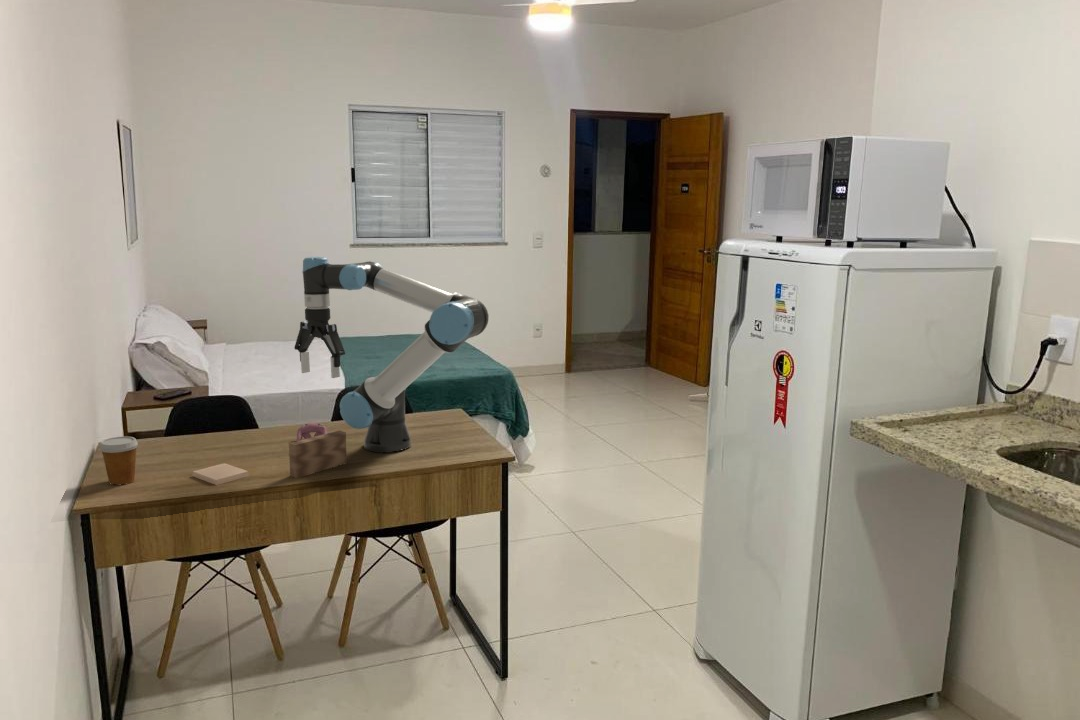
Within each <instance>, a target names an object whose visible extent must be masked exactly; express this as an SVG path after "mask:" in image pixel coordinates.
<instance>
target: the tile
mask: <svg viewBox="0 0 1080 720" xmlns="http://www.w3.org/2000/svg"><path fill="white" fill-rule="evenodd" d="M192 476H193V477H194V478H196V479H200V480H202V481H204V482H206V483H207V482H208V483H210V484H212V485H215V486H218V485H222V484H226V483H230V482H233V481H237V480H240V479H243V478H247V477H249V471H248V470H247V469H246V470H245V469H243V468H240V467H238V466H237V467H236V466H234V465H231V464H228V463H225V462H224V463H219V464H216V465H211V466H209V467H206V468H201V469H197V470H193V471H192Z"/></svg>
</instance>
